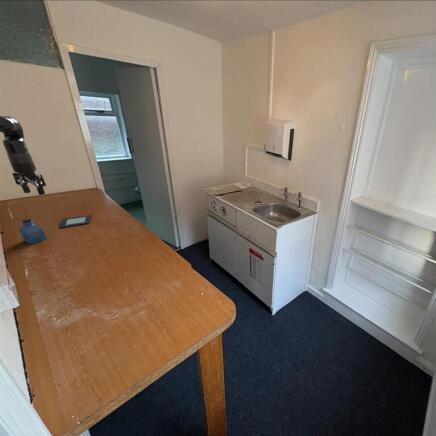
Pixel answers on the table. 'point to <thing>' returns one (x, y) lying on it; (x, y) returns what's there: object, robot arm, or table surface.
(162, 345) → the table surface
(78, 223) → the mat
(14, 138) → the robot arm
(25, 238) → the perfume bottle
